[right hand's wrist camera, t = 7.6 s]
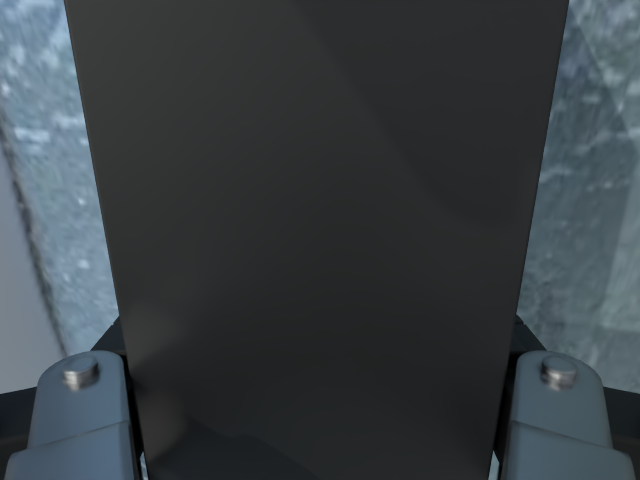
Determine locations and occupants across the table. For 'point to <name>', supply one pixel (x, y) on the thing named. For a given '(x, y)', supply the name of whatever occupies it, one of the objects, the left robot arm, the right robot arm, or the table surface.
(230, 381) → the box
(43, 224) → the table surface
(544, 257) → the table surface
